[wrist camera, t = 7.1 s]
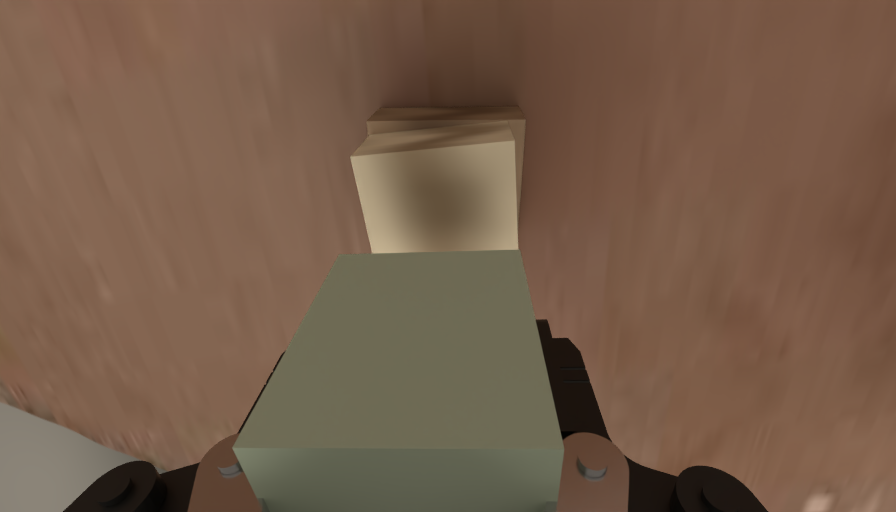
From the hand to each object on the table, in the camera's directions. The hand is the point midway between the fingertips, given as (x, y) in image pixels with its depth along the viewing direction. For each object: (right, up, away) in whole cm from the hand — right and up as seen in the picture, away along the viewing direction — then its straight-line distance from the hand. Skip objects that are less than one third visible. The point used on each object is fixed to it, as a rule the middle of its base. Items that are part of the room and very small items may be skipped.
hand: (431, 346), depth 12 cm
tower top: (0, +6, +11) cm, 12 cm away
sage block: (0, +1, +1) cm, 1 cm away
